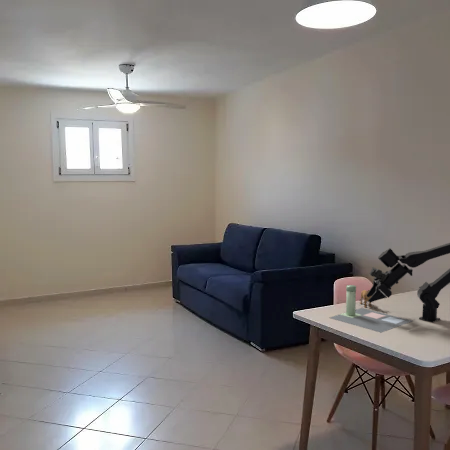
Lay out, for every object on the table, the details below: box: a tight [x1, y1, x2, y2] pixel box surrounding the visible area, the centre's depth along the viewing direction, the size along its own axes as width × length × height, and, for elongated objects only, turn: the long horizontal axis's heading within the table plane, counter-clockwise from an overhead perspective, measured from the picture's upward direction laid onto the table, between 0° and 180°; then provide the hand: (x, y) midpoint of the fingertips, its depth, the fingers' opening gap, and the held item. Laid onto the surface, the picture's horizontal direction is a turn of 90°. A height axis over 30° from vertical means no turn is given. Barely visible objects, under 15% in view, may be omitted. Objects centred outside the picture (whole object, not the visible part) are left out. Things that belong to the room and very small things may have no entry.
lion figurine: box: [359, 289, 373, 309], centre depth 227 cm, size 15×5×9 cm, turn 9°
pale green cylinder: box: [345, 284, 357, 316], centre depth 211 cm, size 4×4×13 cm
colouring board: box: [328, 307, 413, 334], centre depth 204 cm, size 24×26×1 cm
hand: (368, 298), depth 209 cm, fingers open, 9 cm apart
